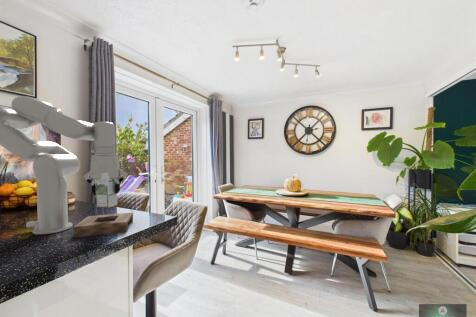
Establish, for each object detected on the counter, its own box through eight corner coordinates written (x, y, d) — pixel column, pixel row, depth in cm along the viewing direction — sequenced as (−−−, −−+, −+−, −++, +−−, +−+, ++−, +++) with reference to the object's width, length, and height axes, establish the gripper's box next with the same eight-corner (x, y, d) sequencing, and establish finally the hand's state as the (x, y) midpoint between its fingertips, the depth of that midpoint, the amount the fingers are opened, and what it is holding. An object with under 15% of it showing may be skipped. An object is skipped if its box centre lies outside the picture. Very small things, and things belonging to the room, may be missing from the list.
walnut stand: (73, 237, 80) (73, 227, 80) (88, 225, 94) (88, 216, 94) (126, 231, 85) (126, 221, 85) (133, 221, 99) (132, 212, 99)
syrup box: (118, 204, 92) (117, 171, 92) (108, 207, 86) (107, 172, 86) (105, 204, 93) (104, 171, 92) (95, 207, 87) (94, 172, 86)
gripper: (77, 151, 83) (78, 197, 83) (126, 151, 88) (127, 193, 88) (84, 152, 90) (85, 194, 90) (129, 151, 95) (131, 191, 96)
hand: (106, 193), depth 89 cm, fingers closed on syrup box, 7 cm apart
